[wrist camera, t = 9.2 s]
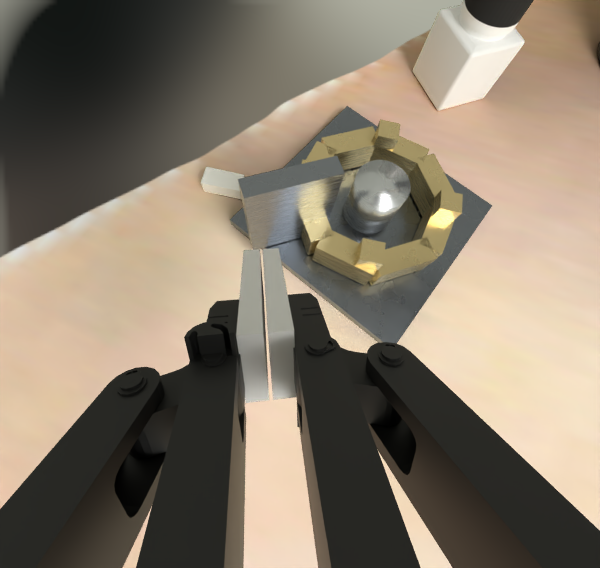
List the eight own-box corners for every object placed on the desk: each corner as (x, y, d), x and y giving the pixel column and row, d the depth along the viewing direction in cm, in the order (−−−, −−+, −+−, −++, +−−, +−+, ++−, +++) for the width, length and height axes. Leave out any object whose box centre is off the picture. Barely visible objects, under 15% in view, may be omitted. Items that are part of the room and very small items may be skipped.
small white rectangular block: (245, 183, 33) (244, 174, 31) (241, 199, 32) (239, 191, 31) (209, 175, 33) (206, 166, 31) (204, 191, 32) (200, 182, 31)
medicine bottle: (483, 99, 39) (569, -16, 28) (436, 112, 38) (507, -2, 26) (456, 60, 41) (526, -64, 29) (410, 71, 39) (465, -54, 28)
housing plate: (345, 113, 37) (358, 64, 31) (486, 210, 34) (528, 177, 28) (231, 224, 31) (221, 190, 25) (388, 350, 29) (416, 343, 23)
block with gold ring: (402, 138, 35) (444, 59, 26) (463, 256, 31) (536, 210, 22) (230, 179, 31) (213, 104, 23) (274, 316, 27) (273, 289, 19)
